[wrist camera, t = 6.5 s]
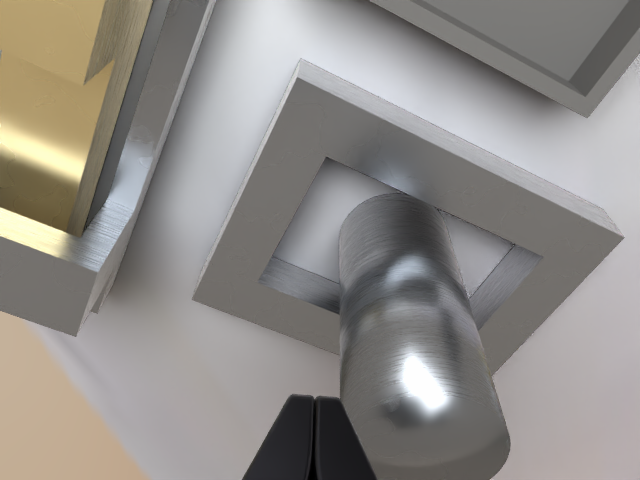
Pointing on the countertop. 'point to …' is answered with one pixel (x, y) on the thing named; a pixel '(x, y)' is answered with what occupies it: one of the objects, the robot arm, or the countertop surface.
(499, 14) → the gray square tray
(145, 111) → the key guide
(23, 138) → the tan boxy piece
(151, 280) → the countertop surface
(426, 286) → the peg
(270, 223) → the socket collar
